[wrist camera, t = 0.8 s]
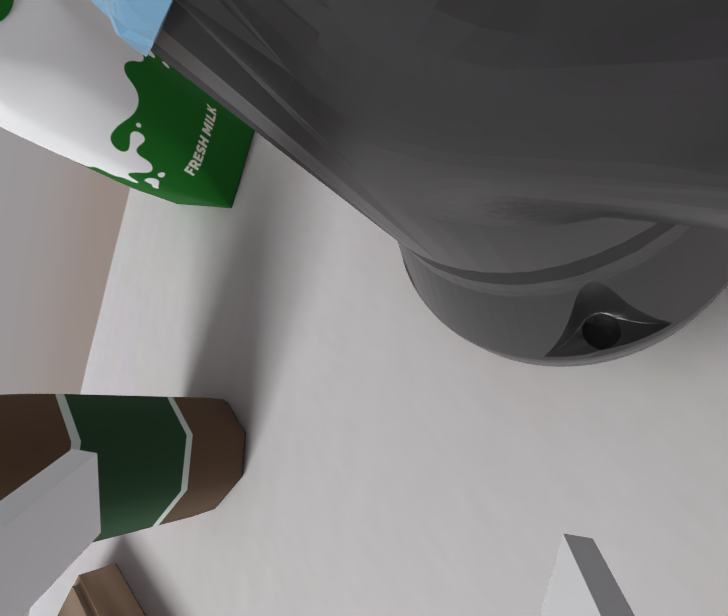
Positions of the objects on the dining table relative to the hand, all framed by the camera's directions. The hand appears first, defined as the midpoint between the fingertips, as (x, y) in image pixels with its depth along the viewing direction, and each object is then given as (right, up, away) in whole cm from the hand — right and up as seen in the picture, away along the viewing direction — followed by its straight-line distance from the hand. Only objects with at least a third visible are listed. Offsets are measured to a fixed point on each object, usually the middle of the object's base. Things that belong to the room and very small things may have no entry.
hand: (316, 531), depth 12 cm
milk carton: (-11, +18, +24) cm, 32 cm away
